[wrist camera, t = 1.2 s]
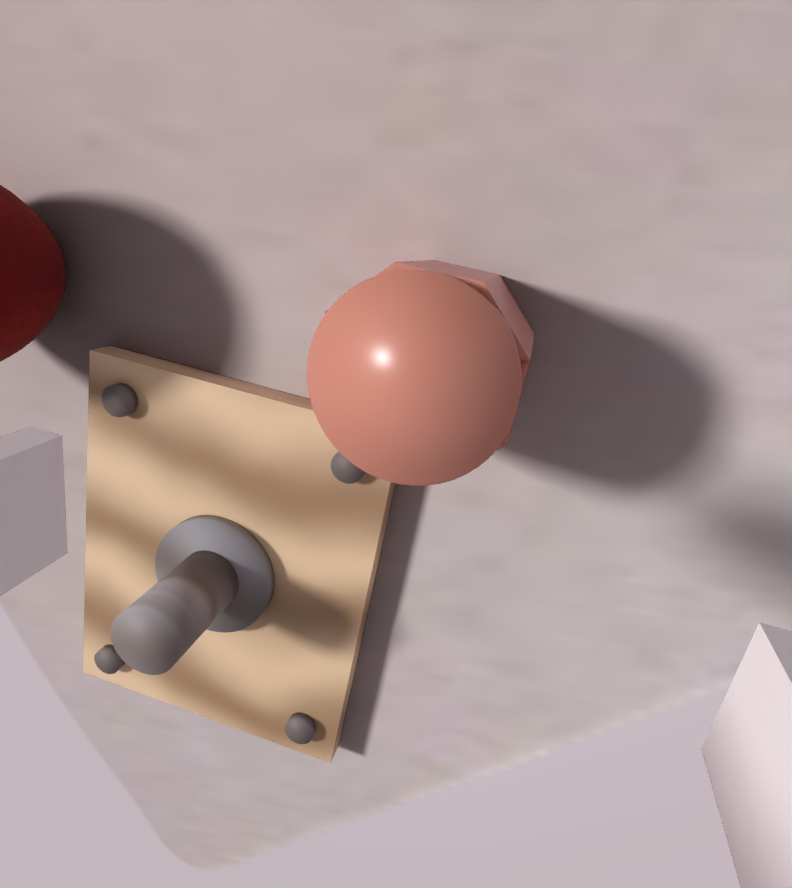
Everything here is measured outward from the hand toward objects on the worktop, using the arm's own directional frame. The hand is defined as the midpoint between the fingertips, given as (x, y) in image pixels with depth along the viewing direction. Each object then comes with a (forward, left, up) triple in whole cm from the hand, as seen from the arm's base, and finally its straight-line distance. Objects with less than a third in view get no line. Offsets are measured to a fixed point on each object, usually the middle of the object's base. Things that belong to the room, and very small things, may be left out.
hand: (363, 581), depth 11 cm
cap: (-2, -1, -17) cm, 17 cm away
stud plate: (+12, -10, -17) cm, 23 cm away
